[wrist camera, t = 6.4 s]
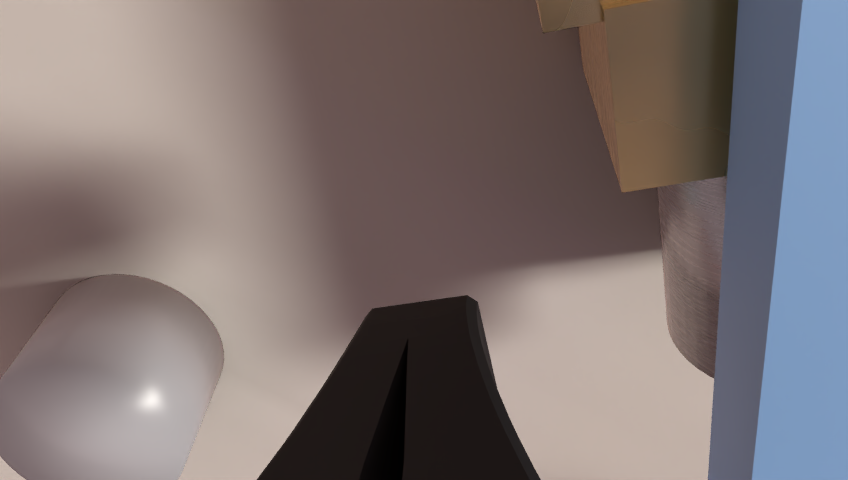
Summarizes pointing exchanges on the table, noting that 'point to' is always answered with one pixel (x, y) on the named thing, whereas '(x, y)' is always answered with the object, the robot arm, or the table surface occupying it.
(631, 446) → the table surface
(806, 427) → the lever
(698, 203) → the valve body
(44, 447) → the pvc end cap
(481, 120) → the table surface
